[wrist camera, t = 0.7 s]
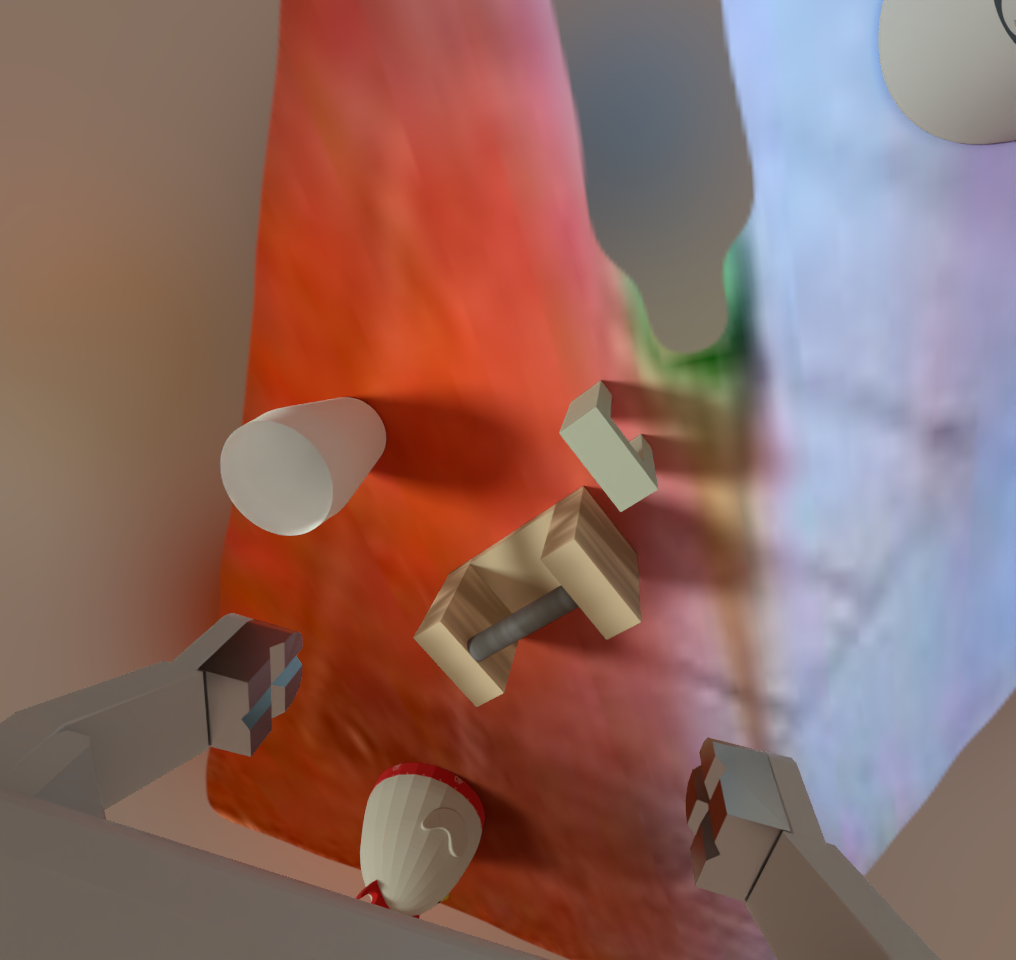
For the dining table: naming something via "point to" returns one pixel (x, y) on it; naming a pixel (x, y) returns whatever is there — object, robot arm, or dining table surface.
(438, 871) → the kitchen timer
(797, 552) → the dining table surface
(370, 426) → the cup
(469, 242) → the dining table surface
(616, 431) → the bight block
